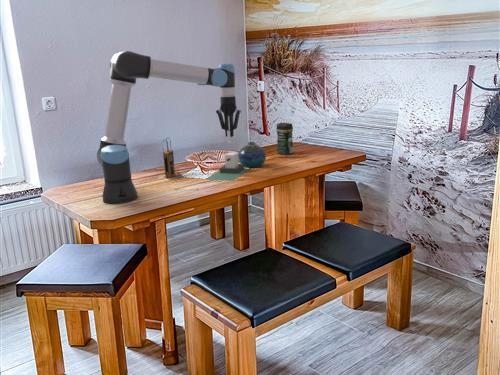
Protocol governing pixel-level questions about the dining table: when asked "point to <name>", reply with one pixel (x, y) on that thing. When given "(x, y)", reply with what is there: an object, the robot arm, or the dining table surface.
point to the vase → (252, 155)
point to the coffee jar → (284, 138)
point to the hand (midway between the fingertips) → (229, 143)
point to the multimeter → (169, 162)
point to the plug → (231, 160)
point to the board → (228, 173)
